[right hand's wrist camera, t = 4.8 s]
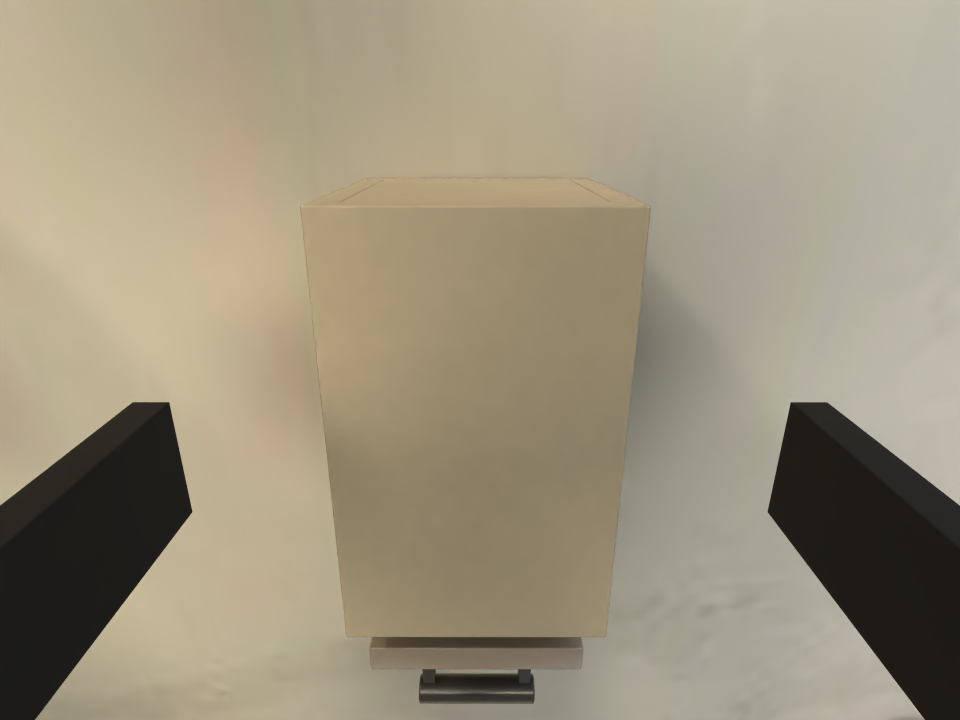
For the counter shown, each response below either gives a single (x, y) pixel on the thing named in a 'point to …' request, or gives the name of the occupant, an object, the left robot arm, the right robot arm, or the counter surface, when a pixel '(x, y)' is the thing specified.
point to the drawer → (476, 665)
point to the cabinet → (475, 398)
